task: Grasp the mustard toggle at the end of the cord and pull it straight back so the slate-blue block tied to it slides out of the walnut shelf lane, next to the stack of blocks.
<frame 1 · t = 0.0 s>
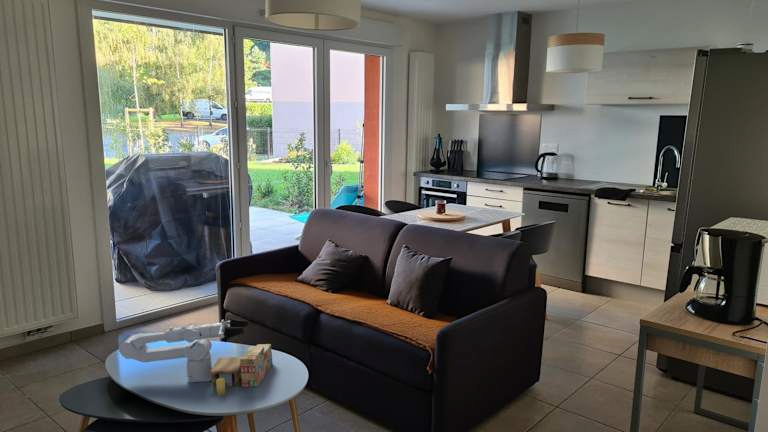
hand: (245, 326, 221), 22 cm above the table, tool horizontal, fingers open, 7 cm apart
stack of blocks: (258, 375, 225), on the table
corded block: (227, 382, 219), on the table
shelf lane: (229, 379, 222), on the table
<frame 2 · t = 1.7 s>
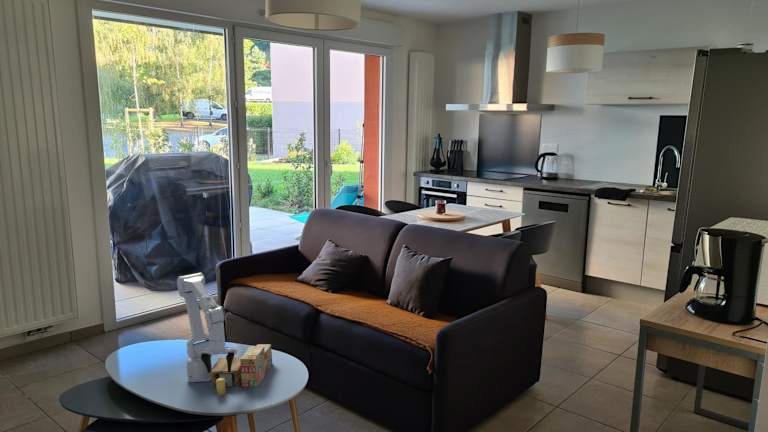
hand: (219, 371, 208), 10 cm above the table, tool pointing down, fingers open, 7 cm apart
nothing on the table moved.
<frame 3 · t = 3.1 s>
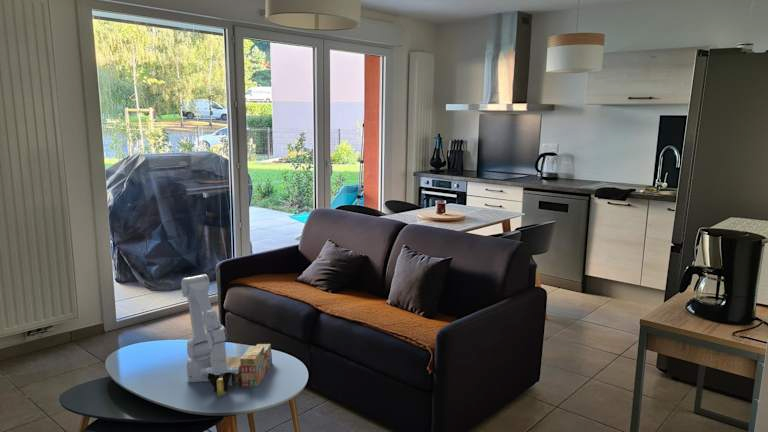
hand: (221, 390, 209), 1 cm above the table, tool pointing down, fingers closed on corded block, 3 cm apart
corded block: (227, 382, 219), on the table, touching gripper
everything else where it was.
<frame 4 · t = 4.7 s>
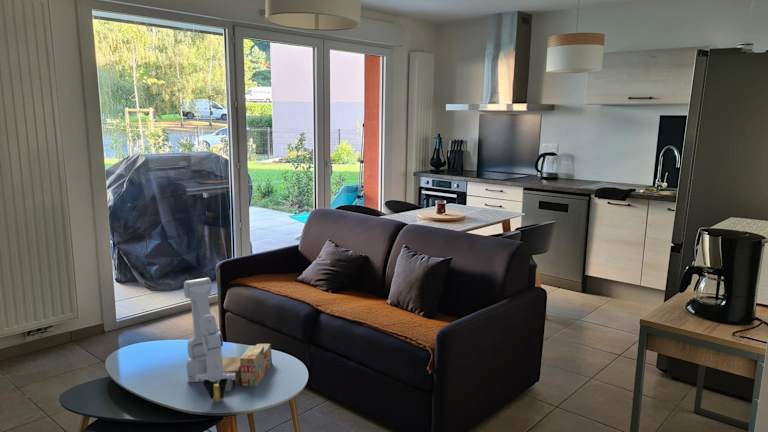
hand: (217, 397, 204), 2 cm above the table, tool pointing down, fingers closed on corded block, 3 cm apart
corded block: (225, 388, 214), on the table, touching gripper
everything else where it was.
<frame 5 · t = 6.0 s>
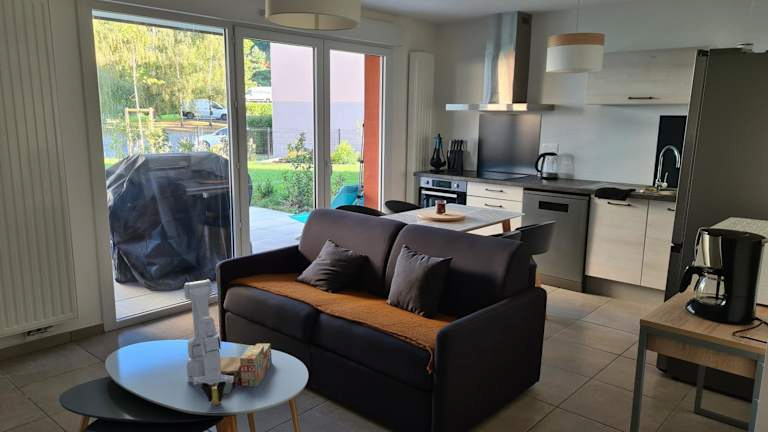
hand: (215, 400, 202), 2 cm above the table, tool pointing down, fingers closed on corded block, 3 cm apart
corded block: (224, 390, 212), on the table, touching gripper
when the fingers open (2 cm above the table, at t = 6.5 s): corded block stays where it is, on the table.
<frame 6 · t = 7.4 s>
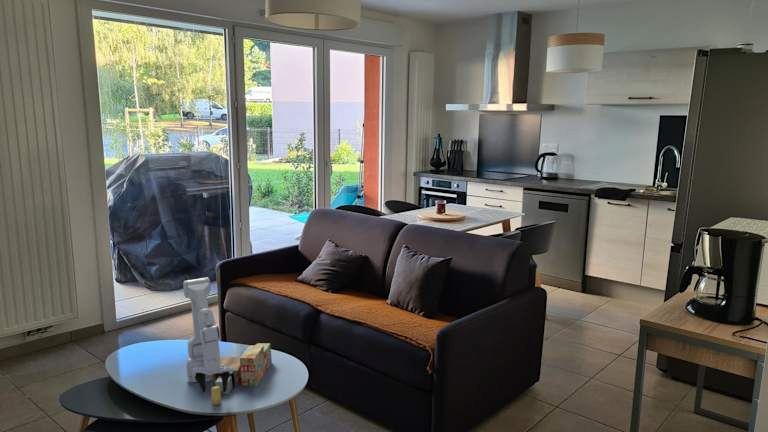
hand: (214, 391, 201), 5 cm above the table, tool pointing down, fingers open, 7 cm apart
corded block: (224, 390, 212), on the table
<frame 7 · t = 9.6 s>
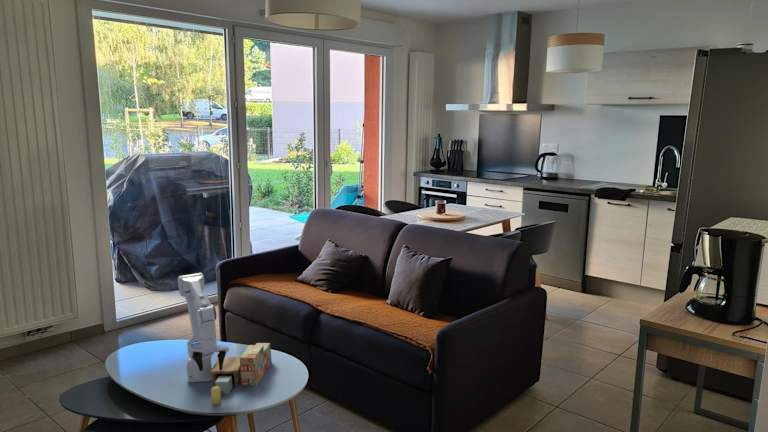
hand: (211, 369, 209), 10 cm above the table, tool pointing down, fingers open, 7 cm apart
at the end: corded block inside the target area (3.2 cm from its centre), on the table; corded block moved 6.8 cm from its start; the gripper is holding nothing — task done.
